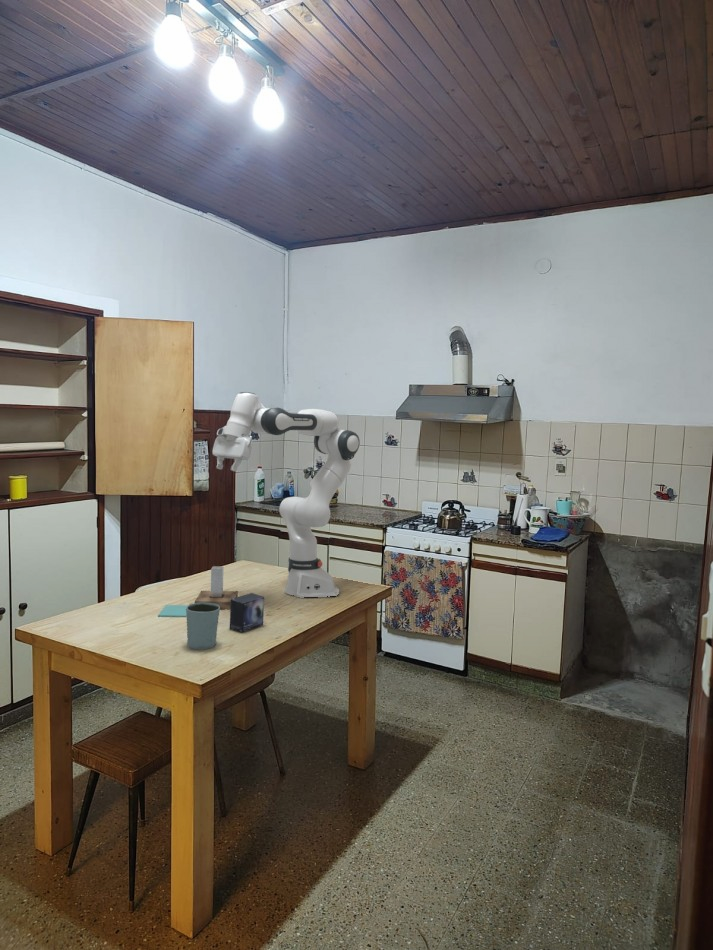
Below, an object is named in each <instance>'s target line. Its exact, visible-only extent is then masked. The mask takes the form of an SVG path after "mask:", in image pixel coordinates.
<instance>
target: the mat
mask: <svg viewBox="0 0 713 950" xmlns="http://www.w3.org/2000/svg"><path fill="white" fill-rule="evenodd" d="M188 605H189V604H184V605H183V604H182V605H181V604H166V605H165V606H164V607H163V608H162V610H161V611H160V612H159V613H158V615H157V617H158V618H160V617H161V618H187V616H186V607H187V606H188Z"/></svg>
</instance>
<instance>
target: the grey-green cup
mask: <svg viewBox="0 0 713 950" xmlns="http://www.w3.org/2000/svg"><path fill="white" fill-rule="evenodd" d="M187 605H188V606H187V607H186V616H187V617H186V630H187V631H186V637H187V640H186V642H187V643H186V644H187V647H188V648H190V649H192V650H199V651H200V650H207V649H211V648H213V647H215V646H216V643H217V635H218V634H217V632H218V624H219V616H220V612H221V611H220V606H219V605H217V604H214V603H205V602H202V603H195V602H194V603H190V604H187Z"/></svg>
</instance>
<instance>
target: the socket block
mask: <svg viewBox="0 0 713 950" xmlns="http://www.w3.org/2000/svg"><path fill="white" fill-rule="evenodd" d="M238 595H239V591H238V590H237V591H235V590H223V598H211V590H200V593H199V594H198V596H197V597H196V598H195V600H194V603H202V602H205V603H214V604H217V605H219V606H220V609H222V610H223V611H224V610H225V609H227V611H230V605H231V599H233V598H236V597H239V596H238ZM225 611H226V610H225Z"/></svg>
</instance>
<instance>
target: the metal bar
mask: <svg viewBox="0 0 713 950" xmlns="http://www.w3.org/2000/svg"><path fill="white" fill-rule="evenodd" d="M210 571H211V572H210V591H211V598H223V591H224V566H219V565H218V566H215V565H213V566H212V567H211V569H210Z"/></svg>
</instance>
